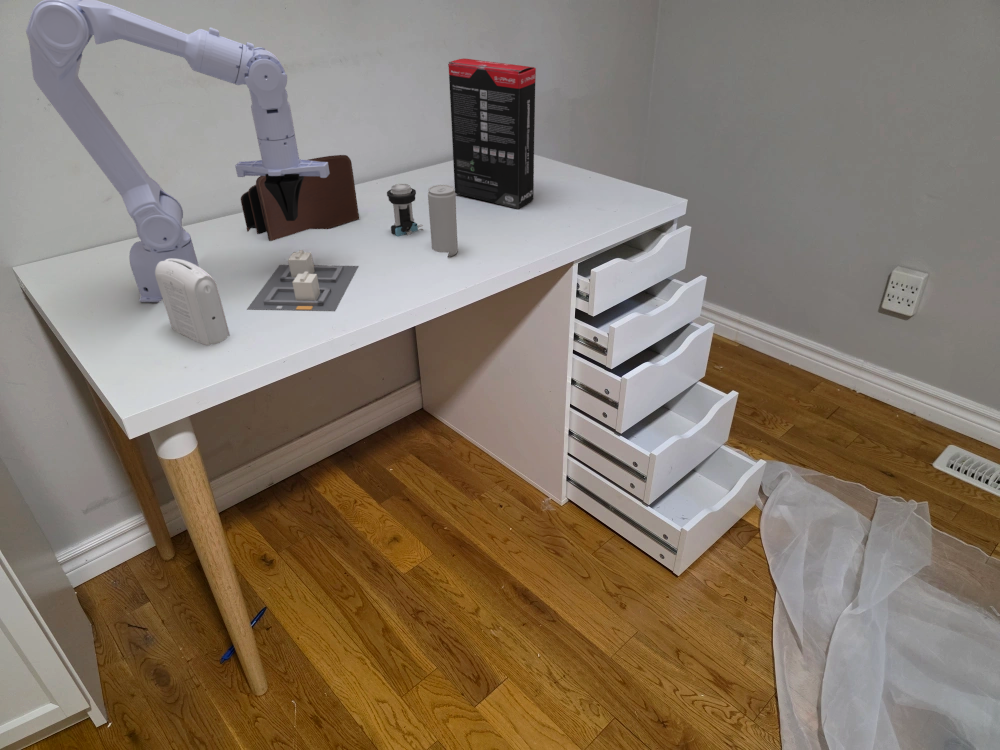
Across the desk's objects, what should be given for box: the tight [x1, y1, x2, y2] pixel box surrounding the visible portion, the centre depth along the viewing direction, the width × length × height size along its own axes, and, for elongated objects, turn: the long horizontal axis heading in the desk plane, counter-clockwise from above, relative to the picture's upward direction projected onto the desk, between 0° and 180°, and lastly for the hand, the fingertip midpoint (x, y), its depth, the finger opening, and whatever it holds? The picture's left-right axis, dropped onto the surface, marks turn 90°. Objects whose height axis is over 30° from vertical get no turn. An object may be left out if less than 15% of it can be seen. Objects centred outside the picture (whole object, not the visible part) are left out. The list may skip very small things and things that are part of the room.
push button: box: [386, 183, 424, 238], centre depth 130 cm, size 7×5×10 cm
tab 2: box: [287, 249, 315, 277], centre depth 116 cm, size 3×3×4 cm
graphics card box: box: [447, 58, 537, 210], centre depth 142 cm, size 17×7×27 cm, turn 58°
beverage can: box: [427, 184, 459, 258], centre depth 124 cm, size 5×5×12 cm
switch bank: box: [246, 264, 359, 312], centre depth 114 cm, size 14×16×2 cm
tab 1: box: [292, 272, 320, 301], centre depth 109 cm, size 3×3×4 cm
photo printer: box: [155, 258, 231, 347], centre depth 100 cm, size 10×4×12 cm, turn 55°
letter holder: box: [240, 154, 360, 242], centre depth 135 cm, size 10×20×14 cm, turn 133°
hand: (292, 218), depth 115 cm, fingers closed
